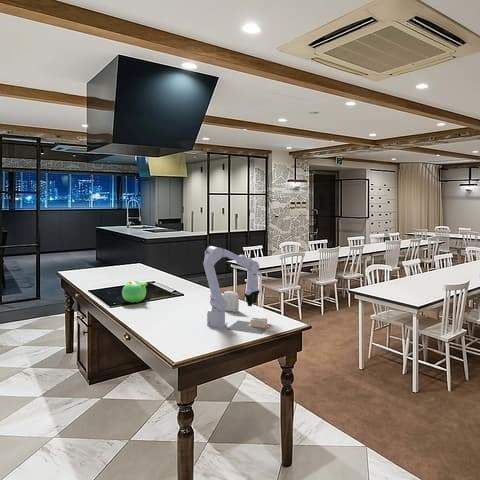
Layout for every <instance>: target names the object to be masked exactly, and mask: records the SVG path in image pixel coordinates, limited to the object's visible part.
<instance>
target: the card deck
mask: <svg viewBox="0 0 480 480" xmlns="http://www.w3.org/2000/svg"><path fill="white" fill-rule="evenodd" d="M250 322H251V326H257V327H266V325H267V324H268V318H264V317H258V316H257V317H255V316H253V317H252V318H251V319H250Z"/></svg>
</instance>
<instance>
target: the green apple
mask: <svg viewBox="0 0 480 480" xmlns="http://www.w3.org/2000/svg"><path fill="white" fill-rule="evenodd" d="M146 286H148V282H147V281H144V282H140V281H137V280H136V281H135V280H129V281H128V282H127V283H126V284H125V285H124V286H123V288H122V290H121V295H122V298H123V299H124V300H125V301H126V302H128V303H133V304H135V302H136V303H139V302H142V301H143V300H144V299H145V297H146V295H147V288H146Z"/></svg>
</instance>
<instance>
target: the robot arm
mask: <svg viewBox="0 0 480 480" xmlns="http://www.w3.org/2000/svg"><path fill="white" fill-rule="evenodd" d="M222 258H228V259H230V260H233V261H236V263H235V264H237V265H238V266H240V267H243V268H245V269H246V270H247V275H246V276H247V279H246V280H247V283H246V284H247V286H246V287H247V289H246V292H245V293H244V297H245V300H246V303H247V306H248V307H252V306H253V304H256V303H257V301H258V297H259V294H260V293H261V290H260V289H259V285H258V271H259V270H260V267H261V266H260V265H259V262H258V261H257V260H253V258H251V257H248V256H246V254H239V255H238V254H235V253H233V252H232V251H230V250H227V249H225V248H222V247H217V246H214V245H209V246H207V248H206V250H205V251H204V258H203V259H204V260H203V262H202V263H203V268H204V272H205V276H206V279H207V283H208V288H209V291H210V296H209V297H210V301H209V303H210V306H211V308H209V309H208V310H207V313H206V315H207V316H206V318H207V319H206V321H207V322H206V327H214V328H220V329H222V328H224V327H225V326H227V325H228V323H227V322H226V310H225V309H226V307H227V302H226V301H225V300H224V297H223V294H222V292H221V288H220V284H219V280H218V277H217V273H216V269H215V264H216V263H217V262H218V261H220V260H221V259H222Z"/></svg>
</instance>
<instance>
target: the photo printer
mask: <svg viewBox="0 0 480 480" xmlns="http://www.w3.org/2000/svg"><path fill="white" fill-rule="evenodd" d="M222 295H223V297H224V300H225V301H226V302H227V307H226V309H225V311H227V312H232V313H238V312H239V308H240V307H239V305H240V302H239V300H240V299H239V298H240V297H239V293H237V292H235V291H232V290H228V291H224V292H223V294H222Z"/></svg>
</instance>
